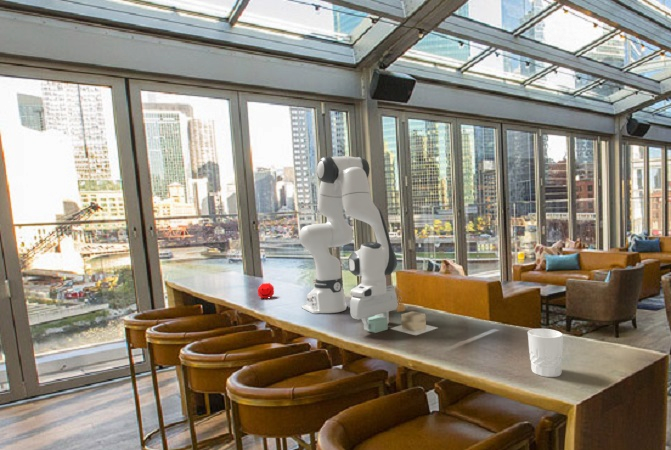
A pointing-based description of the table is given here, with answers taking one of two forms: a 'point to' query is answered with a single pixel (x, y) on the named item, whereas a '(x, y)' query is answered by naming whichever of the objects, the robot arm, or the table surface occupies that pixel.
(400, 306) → the figurine
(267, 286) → the ball
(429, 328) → the plate
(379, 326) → the sage brick
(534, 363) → the white cup
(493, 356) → the table surface
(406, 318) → the maple brick
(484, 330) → the table surface
